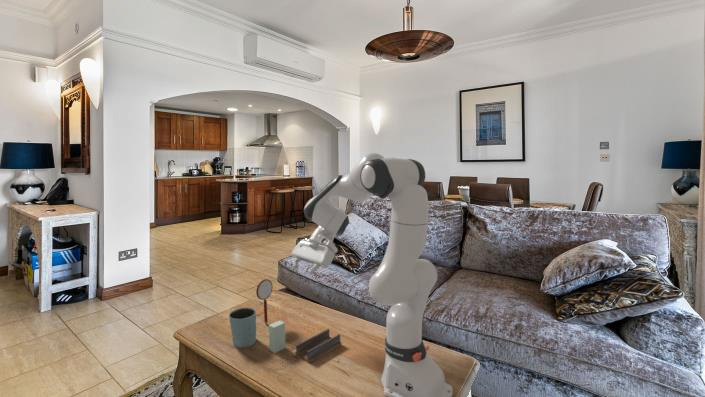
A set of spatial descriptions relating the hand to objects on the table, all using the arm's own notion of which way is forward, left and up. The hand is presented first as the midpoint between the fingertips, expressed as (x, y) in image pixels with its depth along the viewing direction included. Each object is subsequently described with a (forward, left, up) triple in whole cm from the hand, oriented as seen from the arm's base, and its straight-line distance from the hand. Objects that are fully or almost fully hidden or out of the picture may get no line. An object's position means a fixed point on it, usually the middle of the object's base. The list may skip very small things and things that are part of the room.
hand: (301, 271), depth 138 cm
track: (-12, +2, -27) cm, 30 cm away
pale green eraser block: (0, +12, -27) cm, 30 cm away
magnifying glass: (+20, +4, -27) cm, 34 cm away
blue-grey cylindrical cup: (+14, +18, -27) cm, 36 cm away
